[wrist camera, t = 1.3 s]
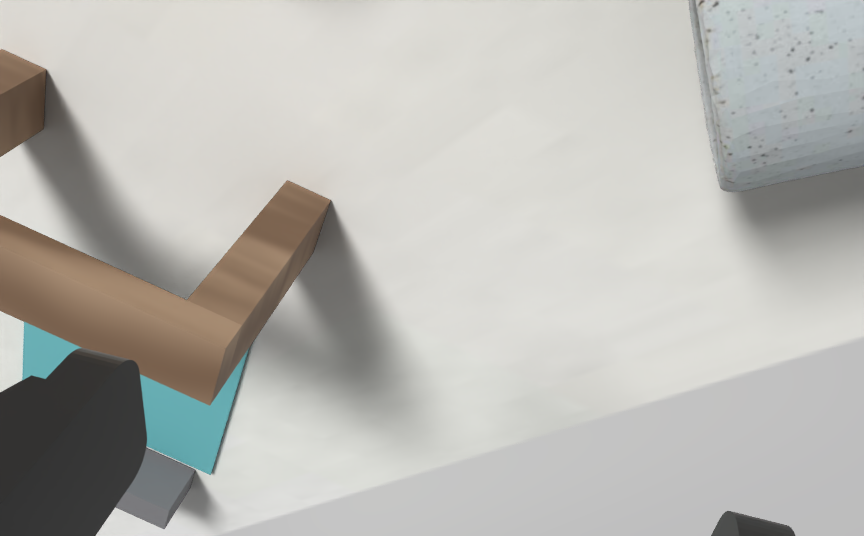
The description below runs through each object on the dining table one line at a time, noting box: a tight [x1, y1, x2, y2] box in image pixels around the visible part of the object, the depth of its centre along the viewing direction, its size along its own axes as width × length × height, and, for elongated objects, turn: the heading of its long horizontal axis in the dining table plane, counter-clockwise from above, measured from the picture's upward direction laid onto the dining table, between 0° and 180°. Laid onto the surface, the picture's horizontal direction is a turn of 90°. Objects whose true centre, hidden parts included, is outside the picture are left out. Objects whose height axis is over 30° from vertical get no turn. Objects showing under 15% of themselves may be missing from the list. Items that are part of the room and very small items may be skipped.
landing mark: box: [22, 322, 249, 475], centre depth 42 cm, size 12×12×1 cm
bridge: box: [0, 49, 331, 406], centre depth 29 cm, size 3×15×10 cm, turn 69°
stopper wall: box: [116, 448, 195, 529], centre depth 45 cm, size 2×10×3 cm, turn 69°
